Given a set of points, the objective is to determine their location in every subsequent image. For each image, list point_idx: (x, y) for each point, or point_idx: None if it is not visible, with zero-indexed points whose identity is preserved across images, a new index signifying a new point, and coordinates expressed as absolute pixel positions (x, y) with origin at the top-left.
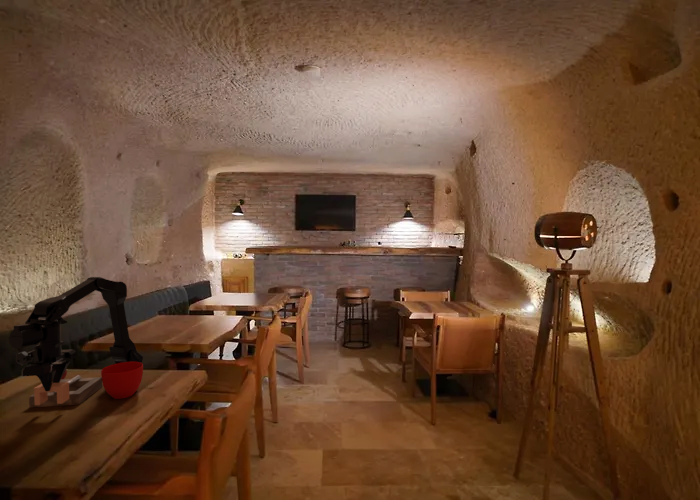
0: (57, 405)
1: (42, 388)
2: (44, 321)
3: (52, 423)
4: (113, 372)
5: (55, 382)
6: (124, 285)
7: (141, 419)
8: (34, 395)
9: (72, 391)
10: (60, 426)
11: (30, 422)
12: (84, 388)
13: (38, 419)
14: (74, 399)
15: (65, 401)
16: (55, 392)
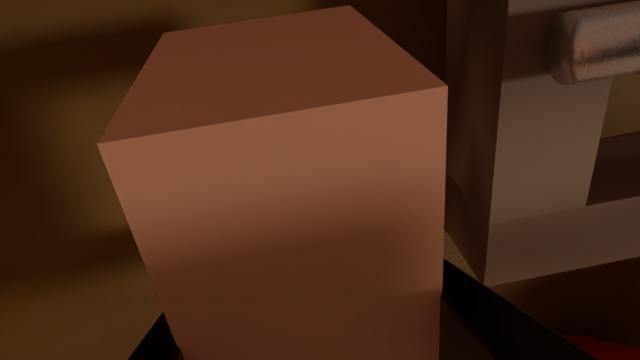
0: (446, 47)
1: (165, 286)
2: None
3: (71, 273)
4: None
5: (442, 330)
6: None
7: None
8: (136, 81)
9: (577, 182)
10: (41, 354)
11: (40, 70)
12: (629, 242)
13: (119, 99)
14: (463, 215)
15: (459, 135)
16: (559, 40)
